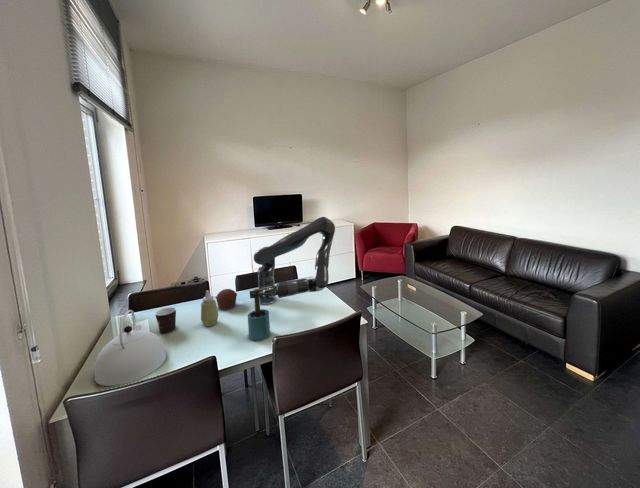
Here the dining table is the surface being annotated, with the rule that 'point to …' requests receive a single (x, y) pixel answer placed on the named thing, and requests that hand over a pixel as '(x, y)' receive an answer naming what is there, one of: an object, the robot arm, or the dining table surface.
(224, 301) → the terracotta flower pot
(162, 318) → the coffee mug
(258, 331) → the jar
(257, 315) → the dowel
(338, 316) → the dining table surface
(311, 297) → the dining table surface
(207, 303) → the squeeze bottle
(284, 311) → the dining table surface
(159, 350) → the kettle
